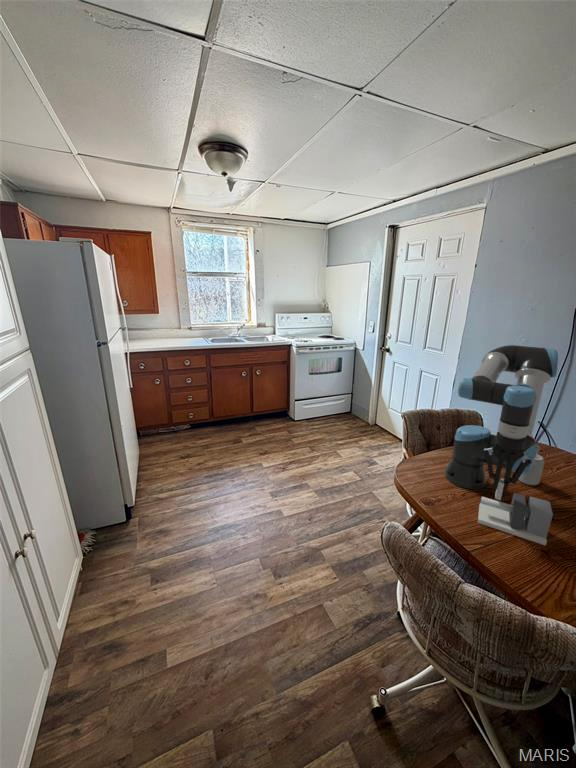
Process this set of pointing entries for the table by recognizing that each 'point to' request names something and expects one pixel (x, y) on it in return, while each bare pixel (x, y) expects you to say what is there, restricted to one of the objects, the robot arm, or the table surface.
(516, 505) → the collar
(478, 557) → the table surface
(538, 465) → the can
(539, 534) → the rod stand
